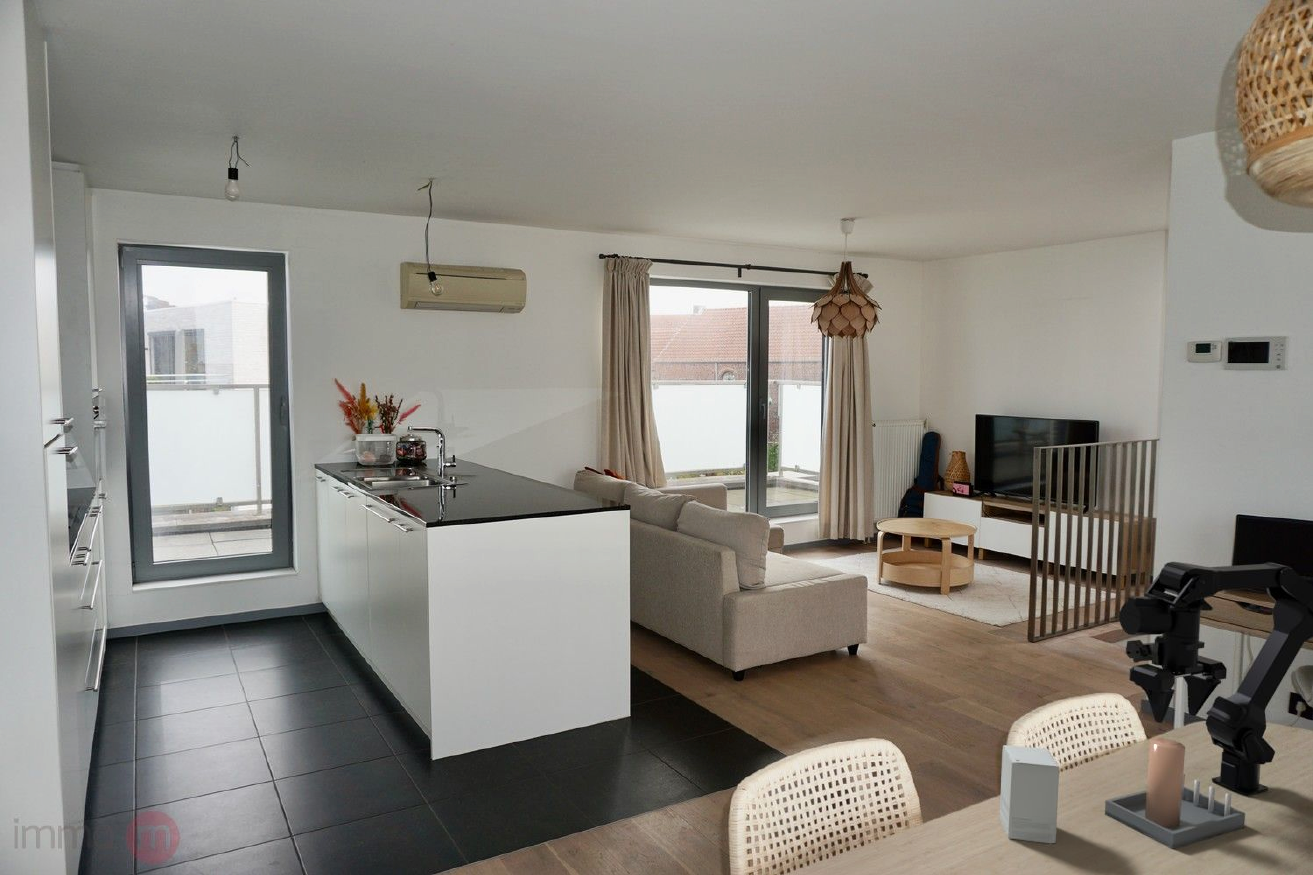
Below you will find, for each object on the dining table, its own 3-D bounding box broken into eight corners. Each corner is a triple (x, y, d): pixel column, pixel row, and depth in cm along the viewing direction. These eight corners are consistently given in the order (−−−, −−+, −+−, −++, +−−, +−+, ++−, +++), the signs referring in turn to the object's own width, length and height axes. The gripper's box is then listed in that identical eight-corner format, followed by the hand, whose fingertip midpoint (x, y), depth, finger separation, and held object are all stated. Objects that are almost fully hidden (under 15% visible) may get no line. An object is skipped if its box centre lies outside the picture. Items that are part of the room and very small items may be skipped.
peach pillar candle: (1148, 809, 148) (1153, 735, 147) (1182, 819, 144) (1187, 743, 144) (1141, 820, 144) (1147, 743, 143) (1176, 831, 141) (1181, 753, 140)
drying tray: (1175, 795, 154) (1176, 768, 154) (1244, 827, 144) (1246, 797, 143) (1104, 813, 147) (1106, 785, 147) (1172, 848, 136) (1174, 817, 136)
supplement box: (1056, 844, 137) (1060, 766, 136) (1007, 839, 138) (1010, 761, 137) (1045, 822, 144) (1049, 747, 143) (998, 816, 145) (1001, 743, 145)
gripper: (1172, 617, 167) (1167, 697, 168) (1104, 626, 159) (1100, 710, 160) (1230, 633, 157) (1225, 717, 157) (1162, 643, 149) (1157, 732, 150)
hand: (1175, 718), depth 156 cm, fingers open, 9 cm apart
